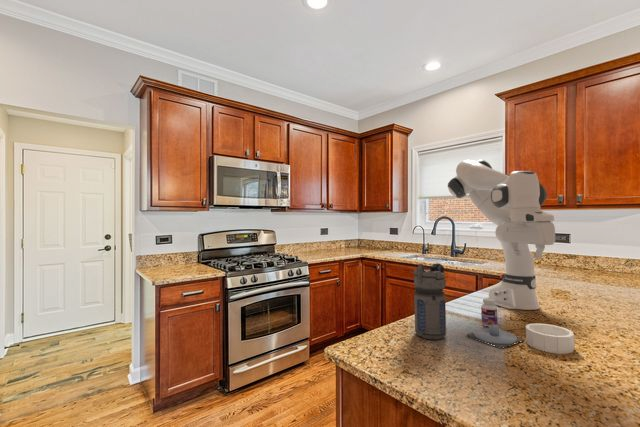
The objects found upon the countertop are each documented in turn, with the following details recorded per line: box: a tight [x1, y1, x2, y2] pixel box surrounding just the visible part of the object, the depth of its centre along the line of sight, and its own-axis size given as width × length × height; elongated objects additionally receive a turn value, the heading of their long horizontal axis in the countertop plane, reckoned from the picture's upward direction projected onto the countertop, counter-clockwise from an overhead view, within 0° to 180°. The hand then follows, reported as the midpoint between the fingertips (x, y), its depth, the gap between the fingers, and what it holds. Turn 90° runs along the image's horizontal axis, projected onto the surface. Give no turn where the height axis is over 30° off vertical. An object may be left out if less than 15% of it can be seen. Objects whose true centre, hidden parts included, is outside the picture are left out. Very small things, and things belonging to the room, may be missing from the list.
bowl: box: [525, 322, 575, 355], centre depth 98 cm, size 12×12×5 cm
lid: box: [473, 324, 518, 345], centre depth 105 cm, size 13×13×4 cm
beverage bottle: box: [413, 262, 447, 341], centre depth 109 cm, size 10×13×25 cm
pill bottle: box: [480, 297, 499, 328], centre depth 118 cm, size 5×5×10 cm
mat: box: [466, 332, 525, 349], centre depth 105 cm, size 12×12×1 cm
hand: (527, 256), depth 108 cm, fingers open, 8 cm apart
